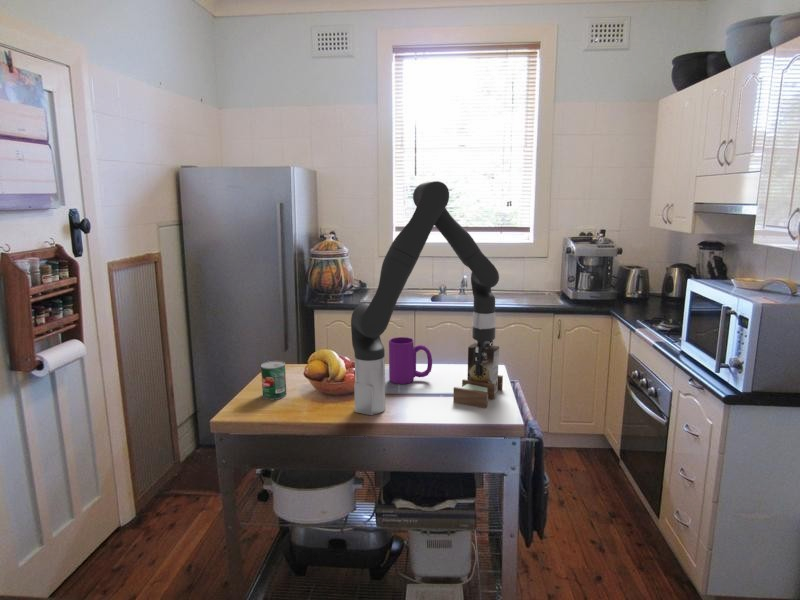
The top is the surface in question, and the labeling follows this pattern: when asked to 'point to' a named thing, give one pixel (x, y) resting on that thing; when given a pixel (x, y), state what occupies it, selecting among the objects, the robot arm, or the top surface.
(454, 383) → the top surface
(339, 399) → the top surface
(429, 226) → the robot arm
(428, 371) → the mug
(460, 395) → the rack
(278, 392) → the canned tomato
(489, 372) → the coffee box
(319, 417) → the top surface
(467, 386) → the offcut upper
